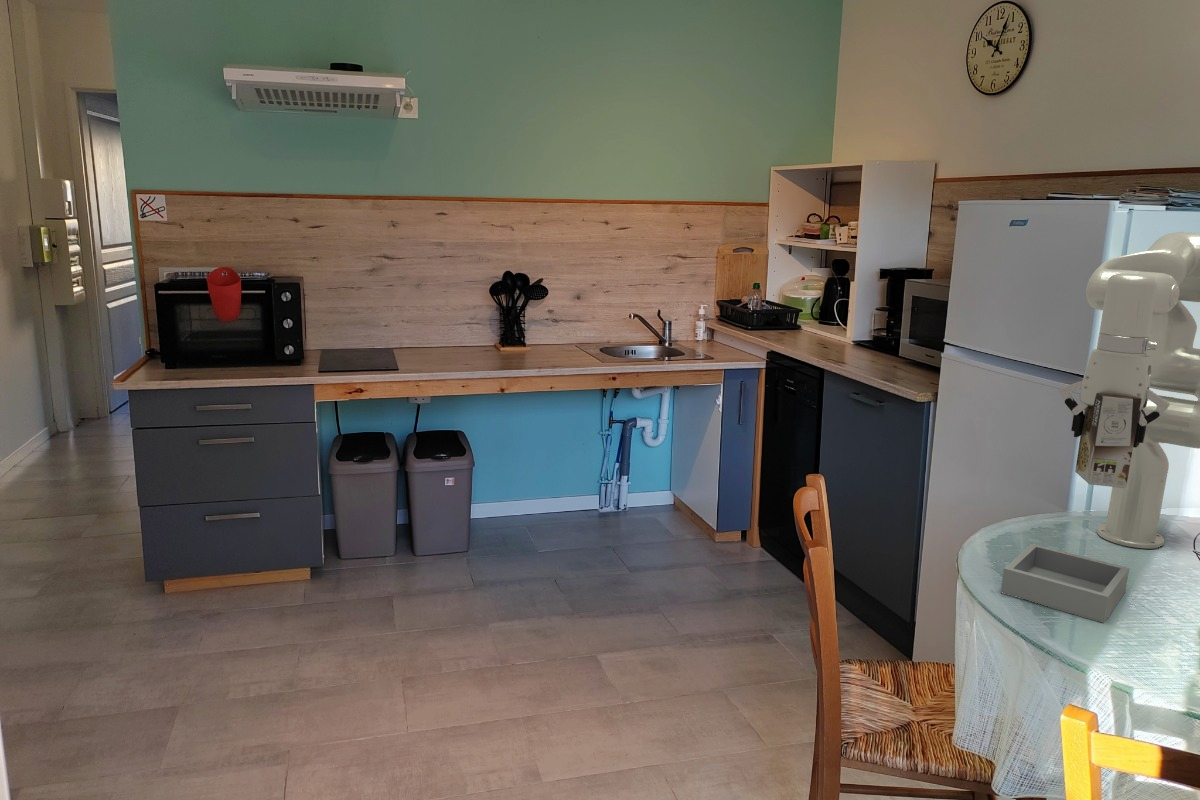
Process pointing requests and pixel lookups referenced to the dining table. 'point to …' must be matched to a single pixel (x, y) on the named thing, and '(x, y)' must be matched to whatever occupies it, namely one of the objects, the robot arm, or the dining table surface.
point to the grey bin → (1066, 582)
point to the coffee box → (1108, 440)
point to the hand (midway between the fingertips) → (1105, 440)
